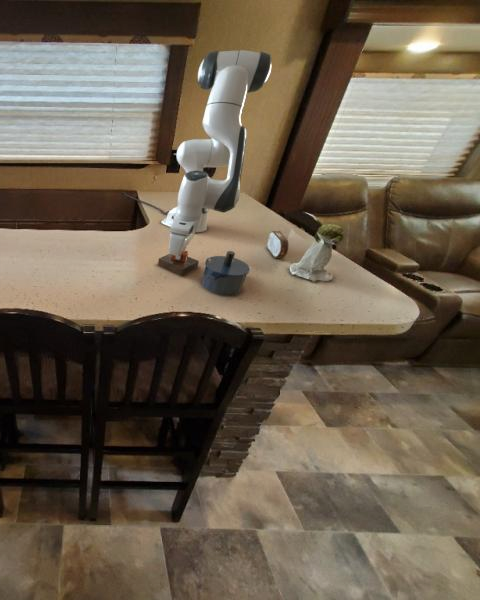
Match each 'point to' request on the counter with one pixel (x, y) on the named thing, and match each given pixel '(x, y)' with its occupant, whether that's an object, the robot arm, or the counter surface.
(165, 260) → the handle block
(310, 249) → the mossy white figurine
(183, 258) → the block
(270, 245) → the tin
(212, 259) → the pot lid
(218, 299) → the counter surface
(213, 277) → the pot
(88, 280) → the counter surface
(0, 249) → the counter surface
